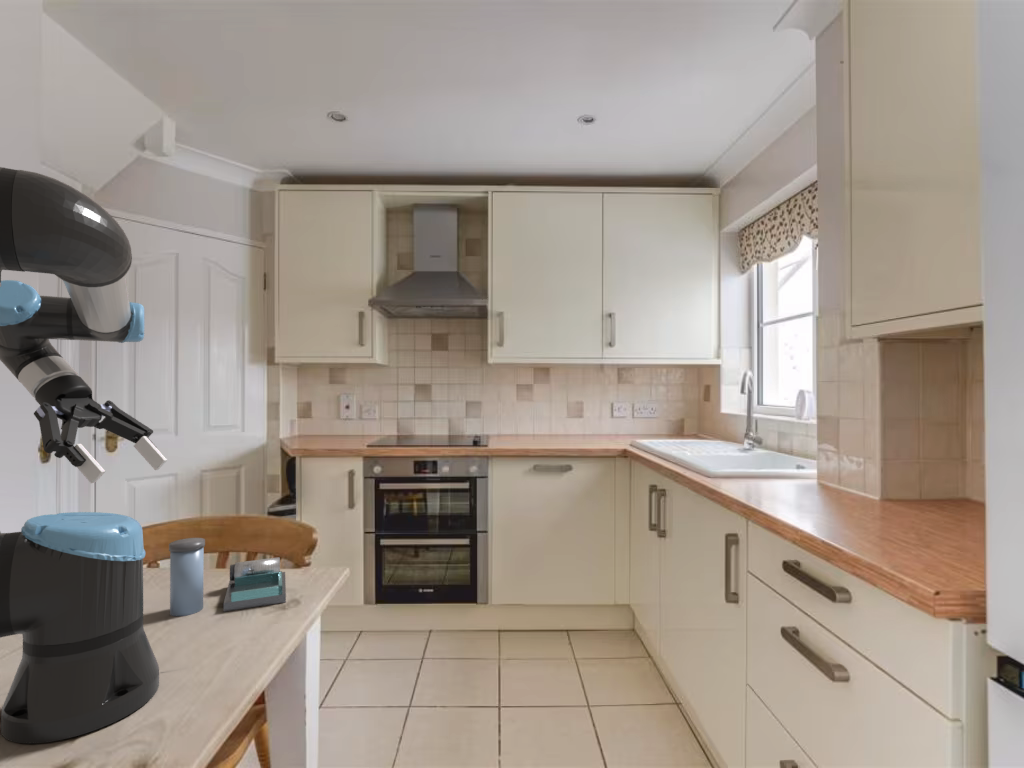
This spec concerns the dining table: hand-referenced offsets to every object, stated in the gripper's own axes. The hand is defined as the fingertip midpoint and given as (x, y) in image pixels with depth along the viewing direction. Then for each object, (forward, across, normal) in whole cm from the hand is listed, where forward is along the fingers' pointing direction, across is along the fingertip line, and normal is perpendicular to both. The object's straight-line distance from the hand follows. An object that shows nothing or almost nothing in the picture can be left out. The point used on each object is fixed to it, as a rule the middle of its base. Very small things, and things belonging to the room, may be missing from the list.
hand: (132, 471), depth 94 cm
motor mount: (+31, -8, -4) cm, 32 cm away
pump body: (+25, 0, -9) cm, 27 cm away
